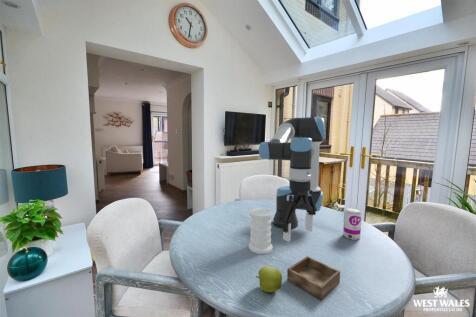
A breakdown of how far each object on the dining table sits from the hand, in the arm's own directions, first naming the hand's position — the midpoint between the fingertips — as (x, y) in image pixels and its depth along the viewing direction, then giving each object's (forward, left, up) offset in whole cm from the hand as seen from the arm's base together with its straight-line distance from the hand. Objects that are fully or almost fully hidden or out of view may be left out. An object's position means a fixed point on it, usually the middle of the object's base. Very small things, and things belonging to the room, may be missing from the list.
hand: (298, 235), depth 82 cm
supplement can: (-1, +52, -17) cm, 54 cm away
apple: (-3, -13, -17) cm, 22 cm away
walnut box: (+5, +3, -17) cm, 18 cm away
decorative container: (-25, +6, -17) cm, 31 cm away
